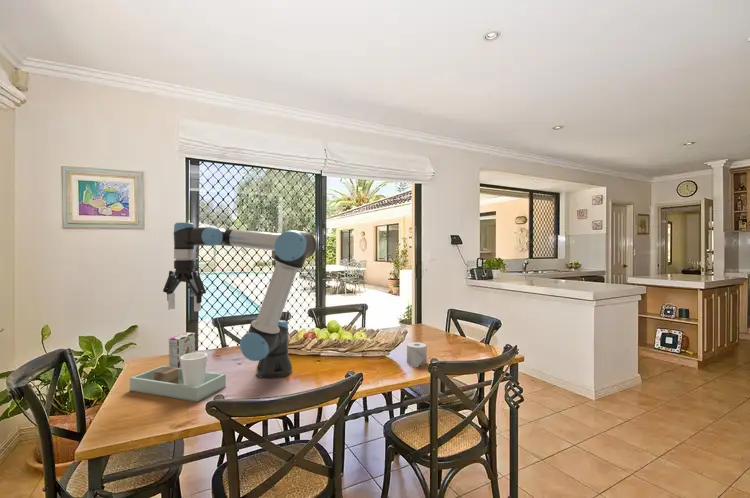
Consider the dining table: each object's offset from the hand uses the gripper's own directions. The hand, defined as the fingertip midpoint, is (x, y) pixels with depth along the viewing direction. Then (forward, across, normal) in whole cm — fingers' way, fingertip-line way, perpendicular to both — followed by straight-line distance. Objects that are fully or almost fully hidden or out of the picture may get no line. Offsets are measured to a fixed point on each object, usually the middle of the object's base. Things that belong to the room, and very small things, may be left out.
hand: (184, 310), depth 158 cm
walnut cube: (+28, -1, +10) cm, 30 cm away
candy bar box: (+29, +6, -5) cm, 30 cm away
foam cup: (+28, -15, +10) cm, 33 cm away
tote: (+29, -7, +10) cm, 31 cm away
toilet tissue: (+29, -89, -50) cm, 106 cm away
